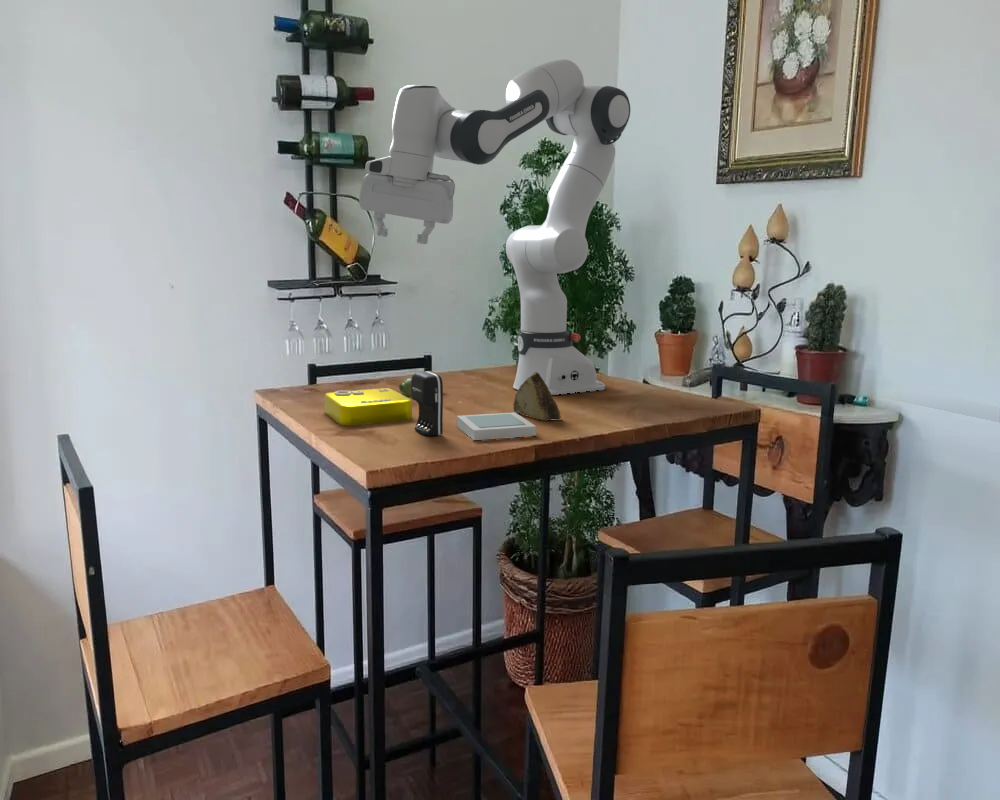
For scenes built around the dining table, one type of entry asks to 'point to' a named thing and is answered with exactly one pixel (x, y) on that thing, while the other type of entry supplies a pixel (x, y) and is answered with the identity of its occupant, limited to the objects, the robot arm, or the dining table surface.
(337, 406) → the element tile
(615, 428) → the dining table surface
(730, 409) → the dining table surface
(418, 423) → the battery charger
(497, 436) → the plate
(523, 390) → the rock
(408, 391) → the pear
